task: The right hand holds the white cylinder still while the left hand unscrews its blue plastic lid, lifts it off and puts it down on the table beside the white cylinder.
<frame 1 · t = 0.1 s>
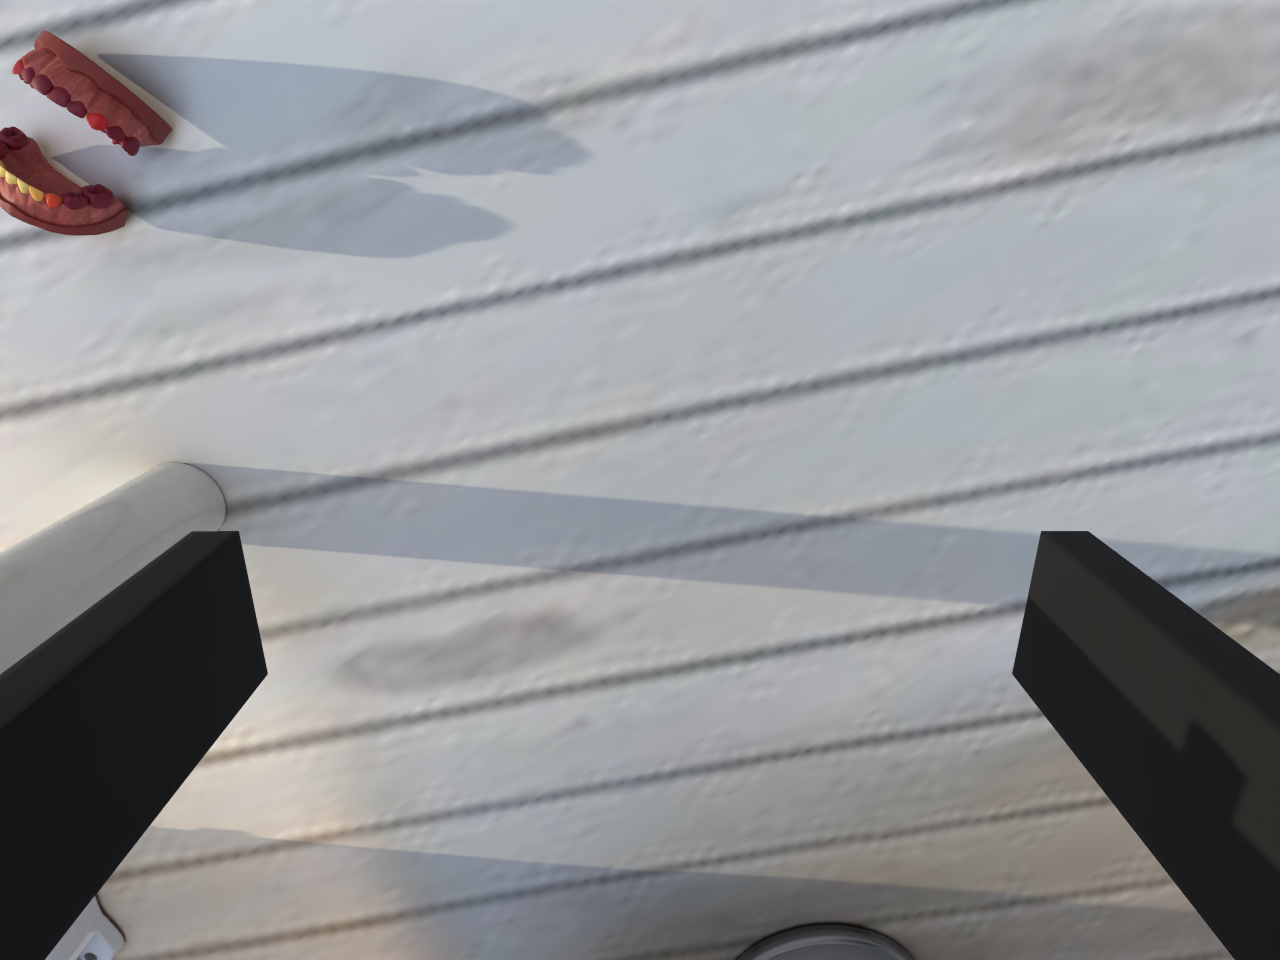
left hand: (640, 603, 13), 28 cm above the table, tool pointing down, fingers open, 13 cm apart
dental model: (96, 141, 36), on the table
white cylinder: (183, 502, 42), on the table
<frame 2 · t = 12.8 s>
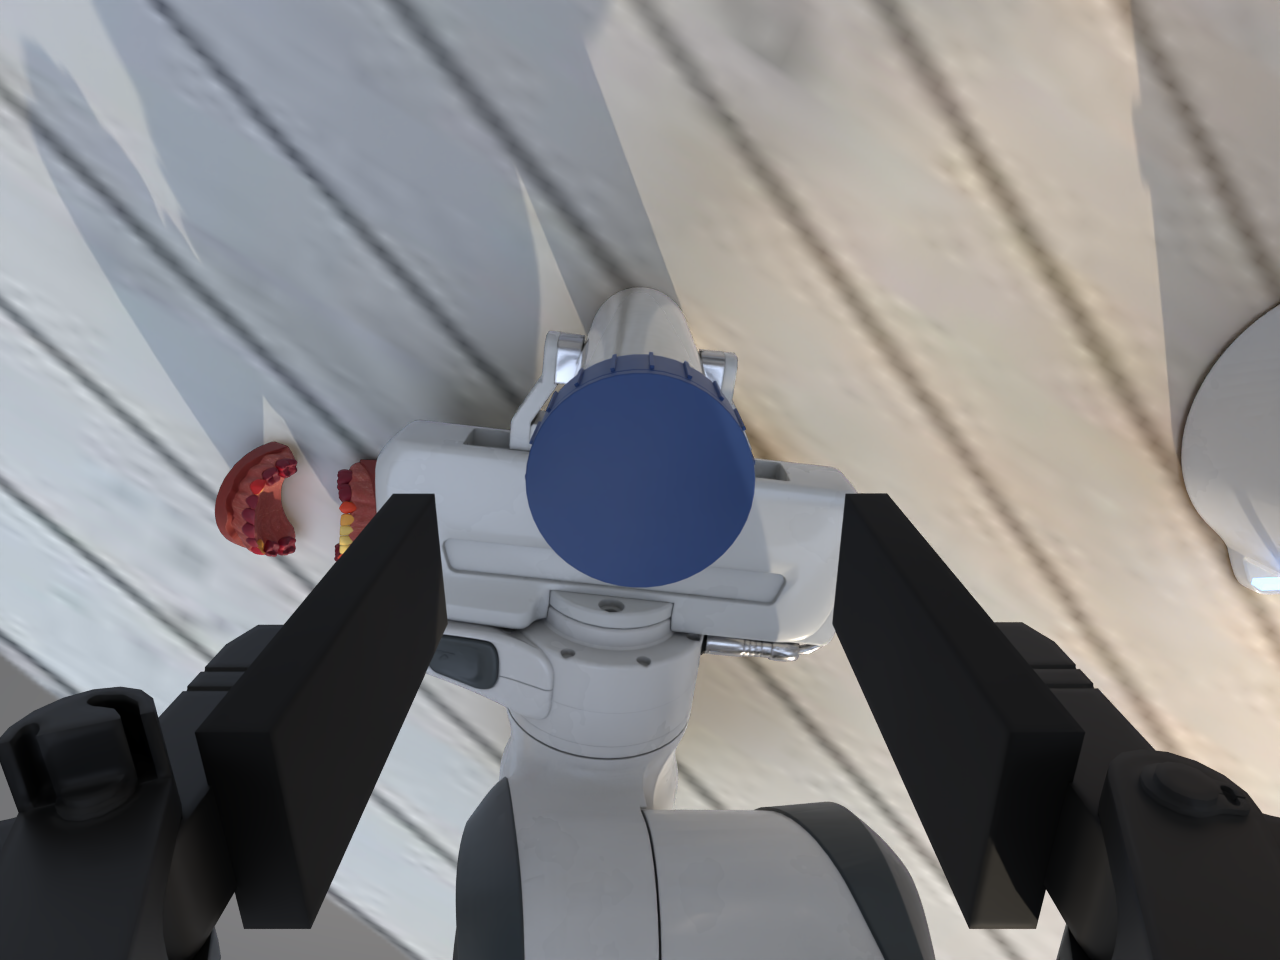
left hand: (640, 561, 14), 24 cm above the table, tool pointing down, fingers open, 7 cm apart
dental model: (328, 498, 40), on the table
lid: (640, 481, 18), point 20 cm above the table, screwed on, not yet turned
white cylinder: (639, 336, 37), on the table, touching right hand
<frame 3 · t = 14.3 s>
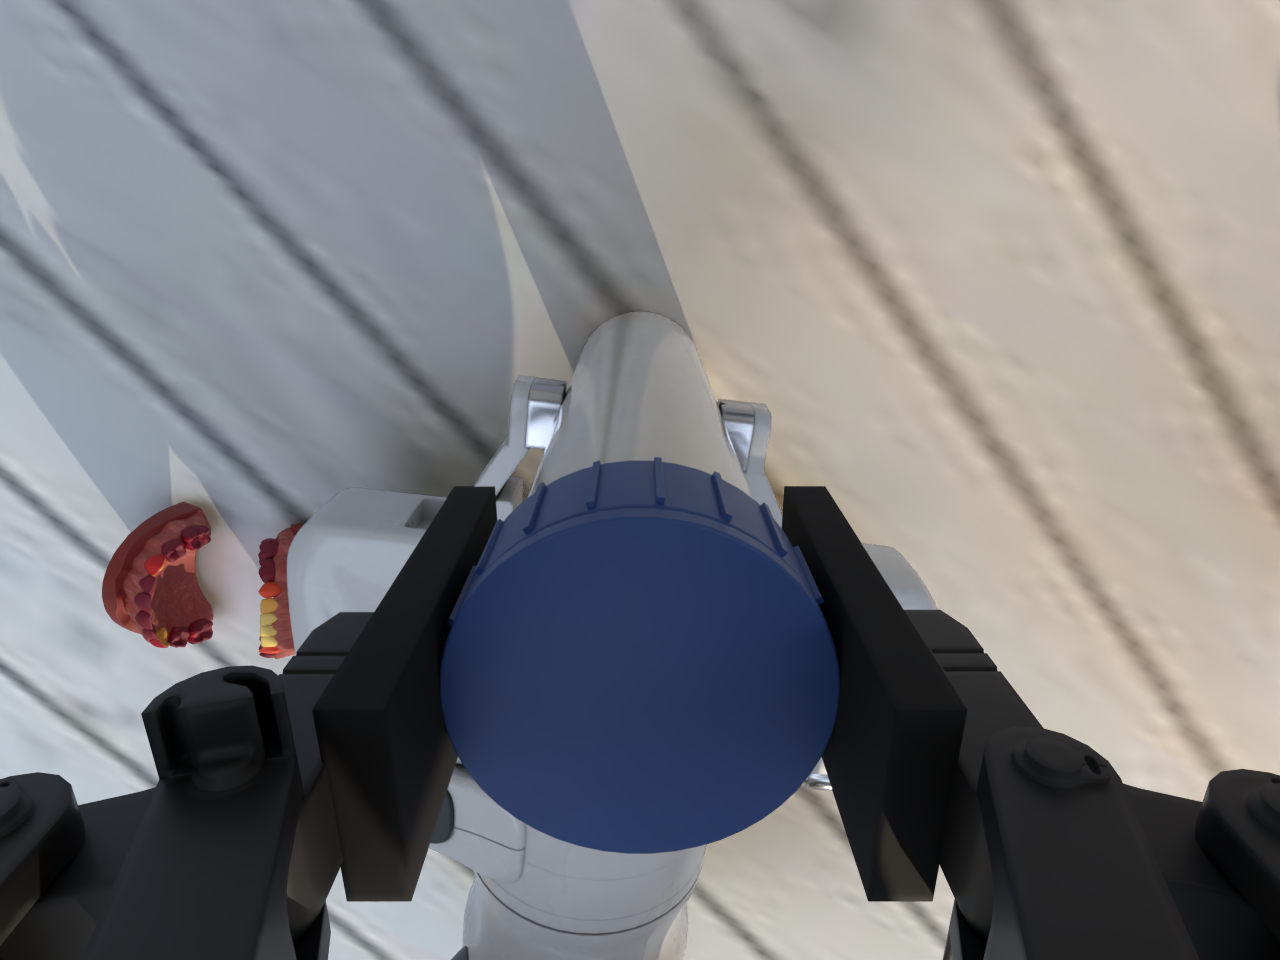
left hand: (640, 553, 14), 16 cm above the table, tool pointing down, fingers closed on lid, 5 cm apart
dental model: (254, 569, 32), on the table
lid: (639, 686, 11), point 20 cm above the table, screwed on, not yet turned, touching left hand
white cylinder: (639, 373, 29), on the table, touching right hand
when the left hand's fingers open (16 cm above the table, at t = 15.7 s): lid stays where it is, point 20 cm above the table.
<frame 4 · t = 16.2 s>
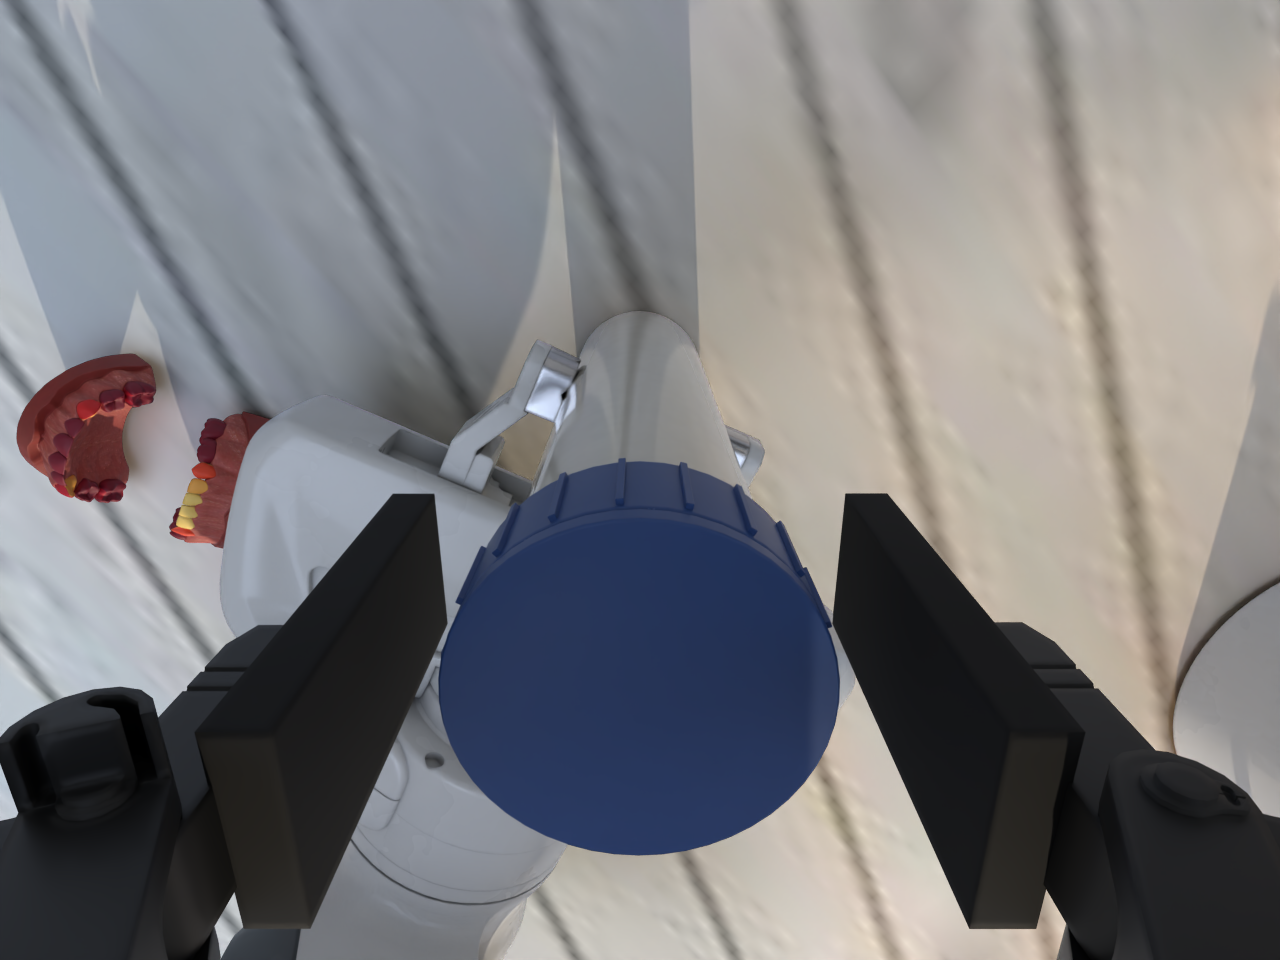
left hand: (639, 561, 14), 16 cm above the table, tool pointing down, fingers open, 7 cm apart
dental model: (187, 444, 30), on the table
lid: (639, 687, 10), point 20 cm above the table, turned 67° so far, risen 0.2 cm, still on its thread
white cylinder: (639, 372, 29), on the table, touching right hand
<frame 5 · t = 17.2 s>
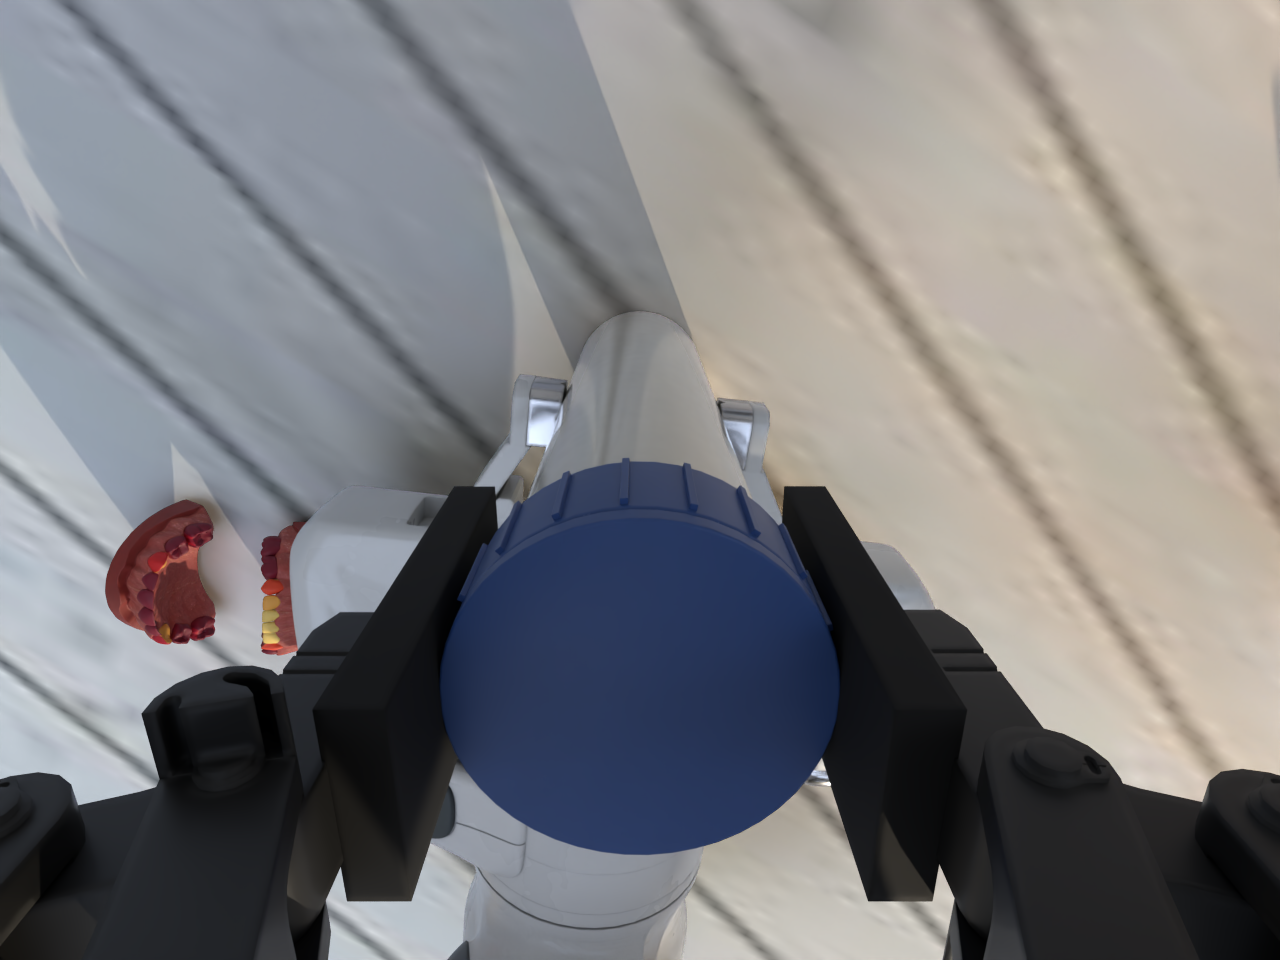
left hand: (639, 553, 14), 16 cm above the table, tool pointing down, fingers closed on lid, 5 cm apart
dental model: (256, 566, 32), on the table
lid: (639, 687, 11), point 20 cm above the table, turned 67° so far, risen 0.2 cm, still on its thread, touching left hand
white cylinder: (639, 372, 29), on the table, touching right hand
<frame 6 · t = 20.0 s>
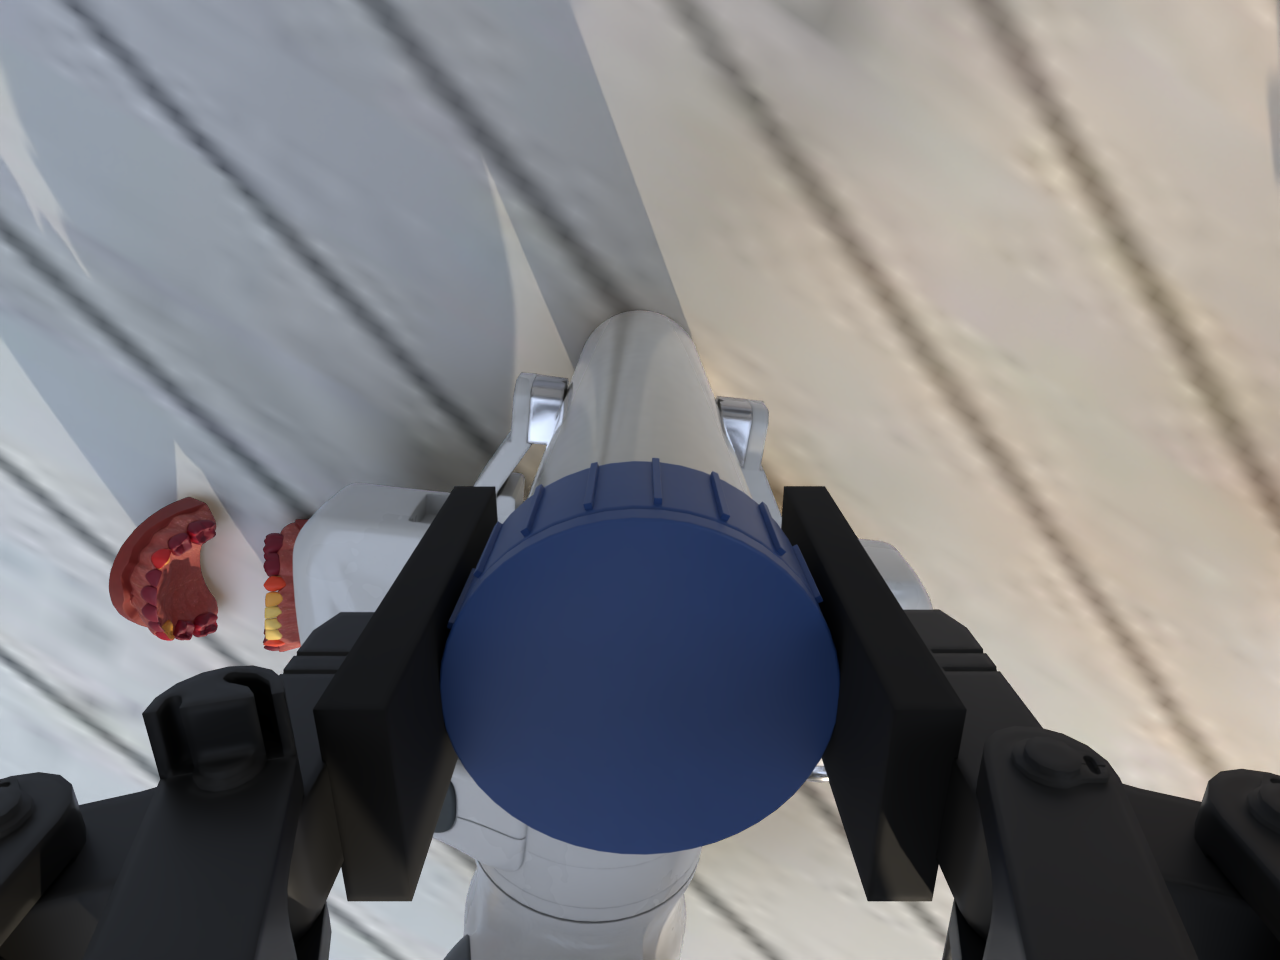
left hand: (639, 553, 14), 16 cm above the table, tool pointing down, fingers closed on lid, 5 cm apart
dental model: (258, 564, 32), on the table
lid: (639, 687, 11), point 20 cm above the table, turned 134° so far, risen 0.4 cm, still on its thread, touching left hand
white cylinder: (639, 371, 30), on the table, touching right hand
when the left hand's fingers open (0 cm above the table, at t = 26.1 s): lid drops 2 cm, point 2 cm above the table.
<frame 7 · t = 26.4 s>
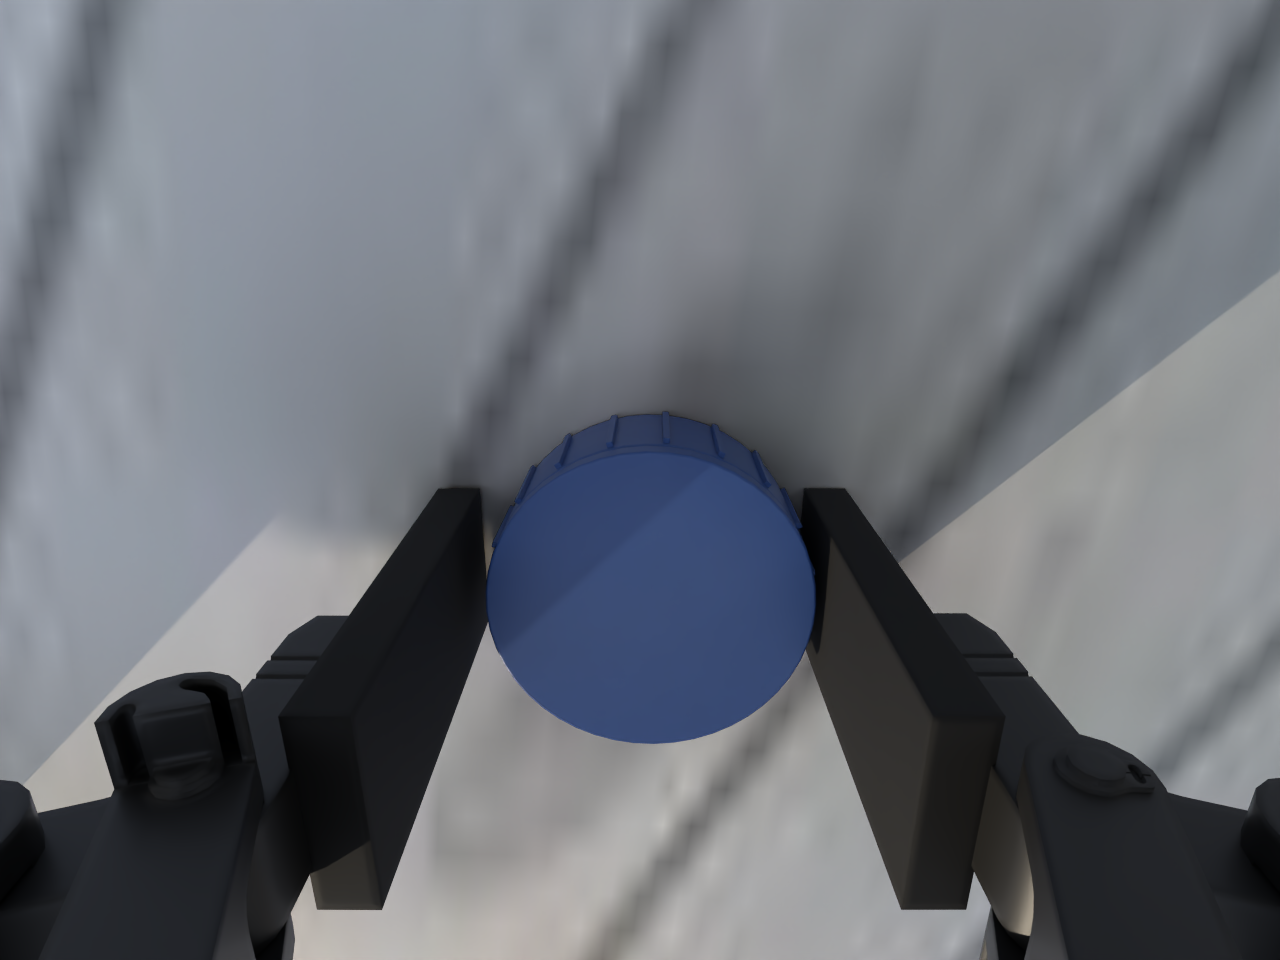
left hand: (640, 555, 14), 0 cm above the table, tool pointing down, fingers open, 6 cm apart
lid: (650, 598, 13), point 2 cm above the table, off its thread
when the right hand's fingers open (7 cm above the table, at t = 27.3 s): white cylinder stays where it is, on the table.
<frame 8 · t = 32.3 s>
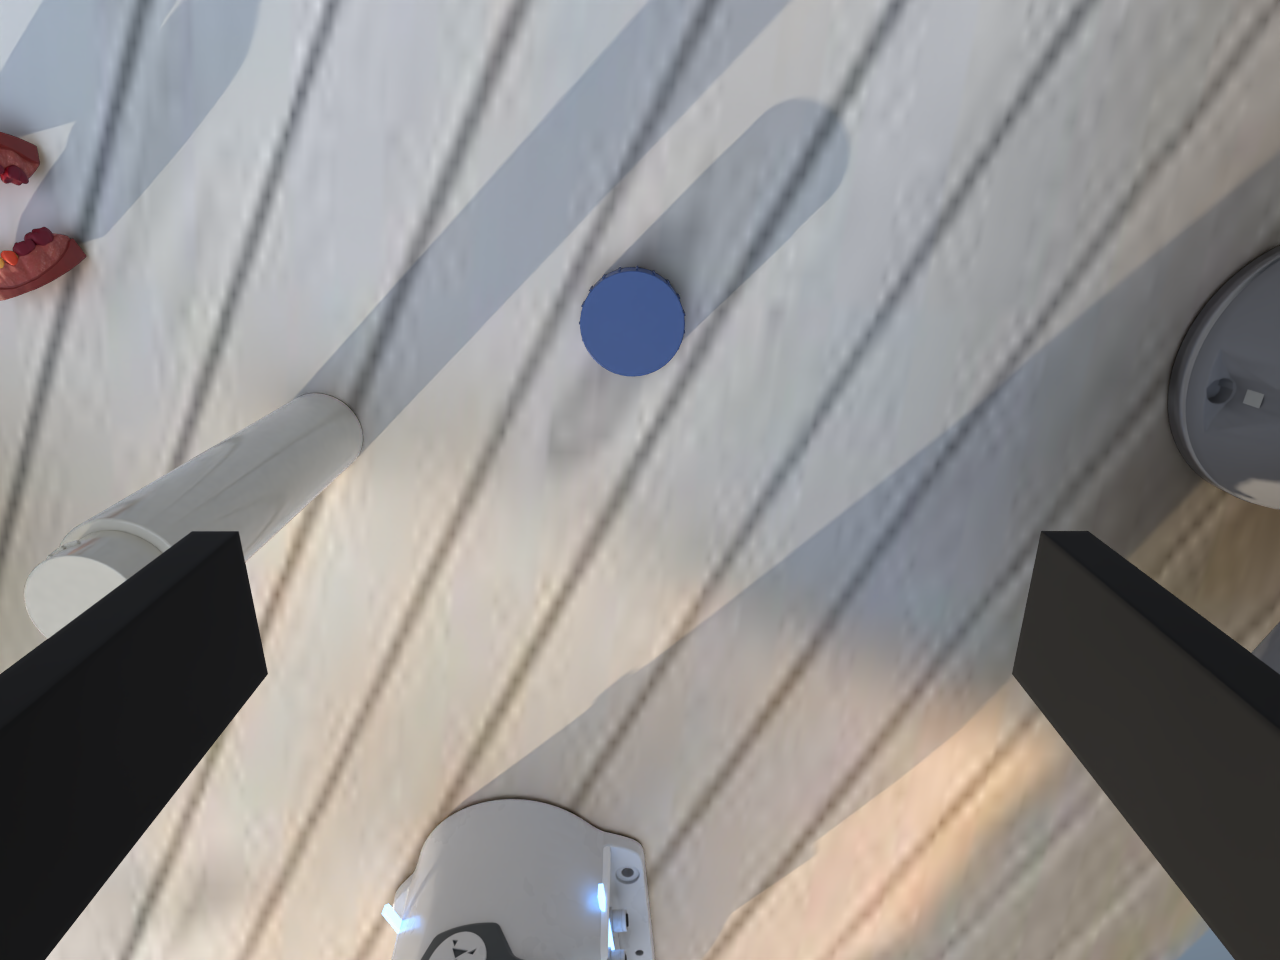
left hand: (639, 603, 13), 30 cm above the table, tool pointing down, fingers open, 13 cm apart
dental model: (17, 214, 39), on the table
lid: (632, 323, 39), point 2 cm above the table, off its thread
white cylinder: (321, 433, 43), on the table
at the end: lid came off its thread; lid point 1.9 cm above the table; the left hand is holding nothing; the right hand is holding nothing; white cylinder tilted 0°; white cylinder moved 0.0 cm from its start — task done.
